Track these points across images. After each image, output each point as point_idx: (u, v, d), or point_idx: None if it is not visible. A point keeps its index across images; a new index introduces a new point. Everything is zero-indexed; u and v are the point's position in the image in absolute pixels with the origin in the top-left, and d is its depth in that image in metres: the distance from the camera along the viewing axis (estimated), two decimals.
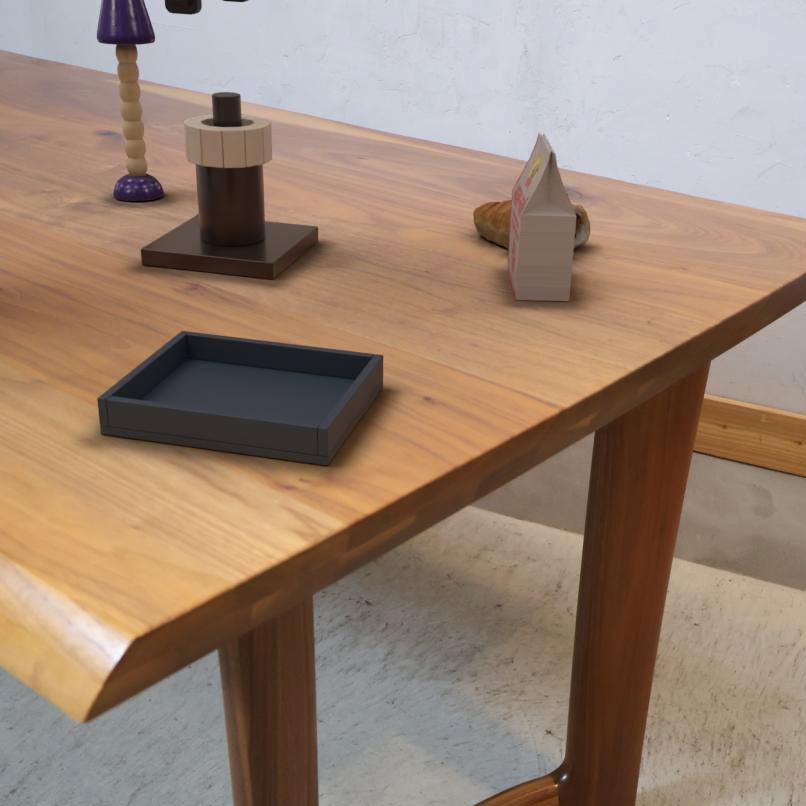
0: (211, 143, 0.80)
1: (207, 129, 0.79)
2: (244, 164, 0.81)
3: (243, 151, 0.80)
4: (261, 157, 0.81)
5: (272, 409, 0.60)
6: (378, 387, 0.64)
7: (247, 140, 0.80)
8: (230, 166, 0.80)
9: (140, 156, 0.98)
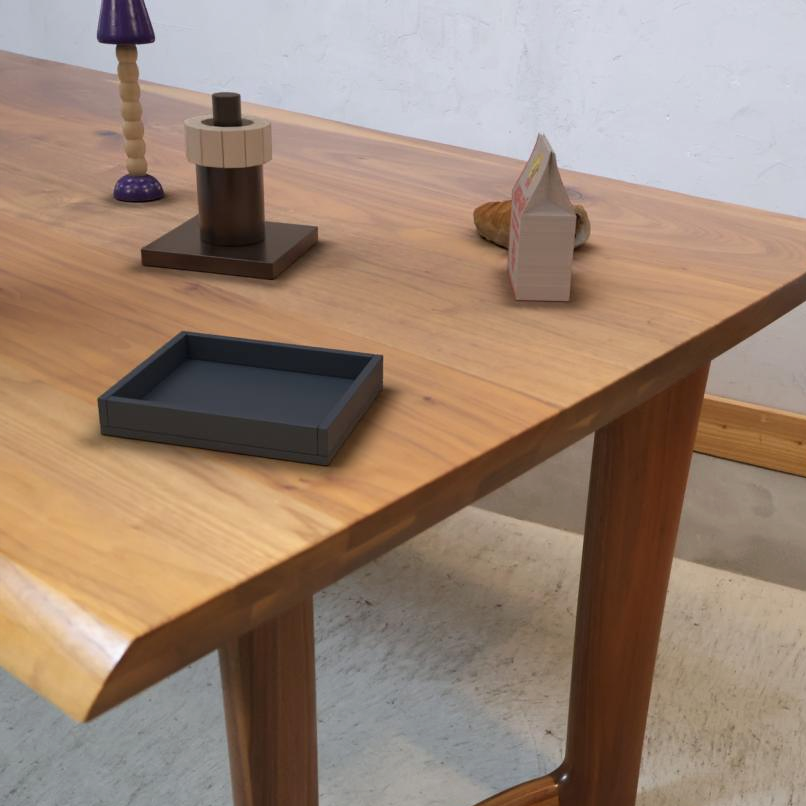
0: (211, 143, 0.80)
1: (207, 129, 0.79)
2: (244, 164, 0.81)
3: (243, 151, 0.80)
4: (261, 157, 0.81)
5: (272, 409, 0.60)
6: (378, 387, 0.64)
7: (247, 140, 0.80)
8: (230, 166, 0.80)
9: (140, 156, 0.98)
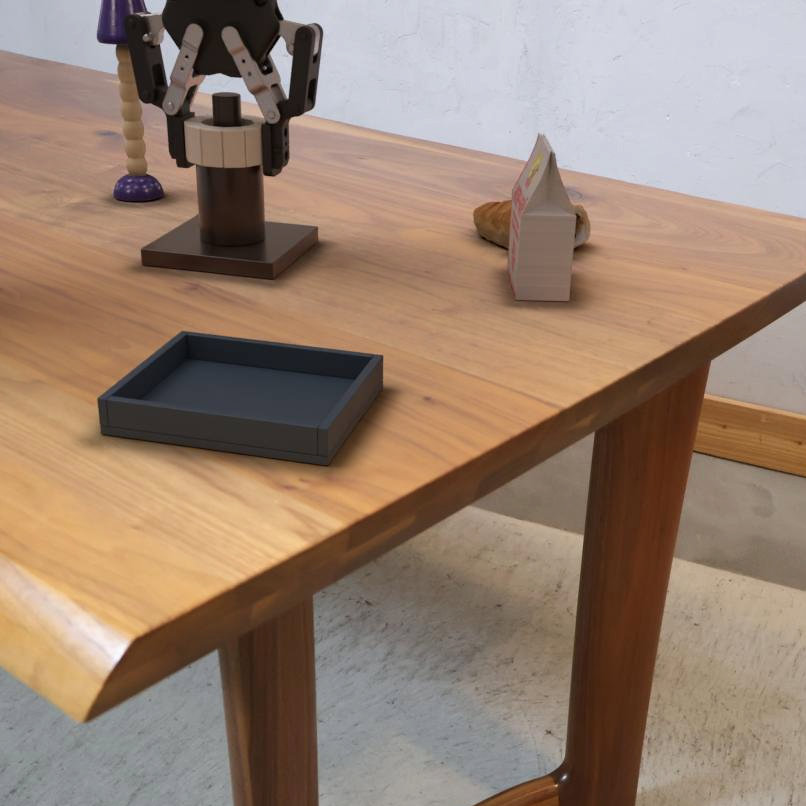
0: (211, 143, 0.80)
1: (207, 129, 0.79)
2: (244, 164, 0.81)
3: (243, 151, 0.80)
4: (261, 157, 0.81)
5: (272, 409, 0.60)
6: (378, 387, 0.64)
7: (247, 140, 0.80)
8: (230, 166, 0.80)
9: (140, 156, 0.98)
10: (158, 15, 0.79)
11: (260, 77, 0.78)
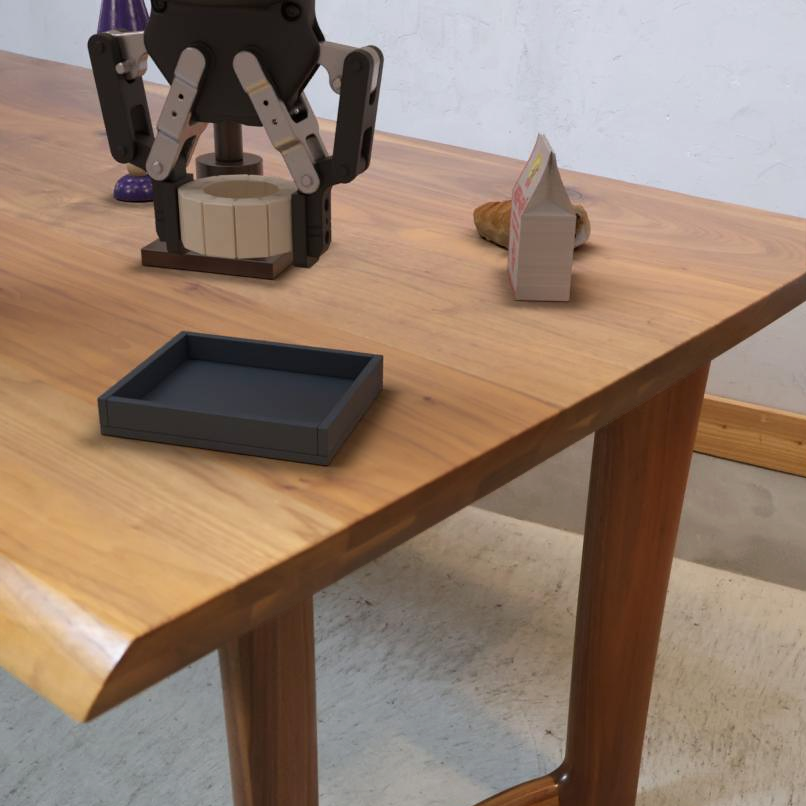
0: (218, 223, 0.54)
1: (213, 203, 0.54)
2: (267, 252, 0.55)
3: (265, 234, 0.54)
4: (291, 241, 0.56)
5: (272, 409, 0.60)
6: (378, 387, 0.64)
7: (271, 218, 0.54)
8: (246, 256, 0.55)
9: None
10: (138, 35, 0.53)
11: (291, 126, 0.53)
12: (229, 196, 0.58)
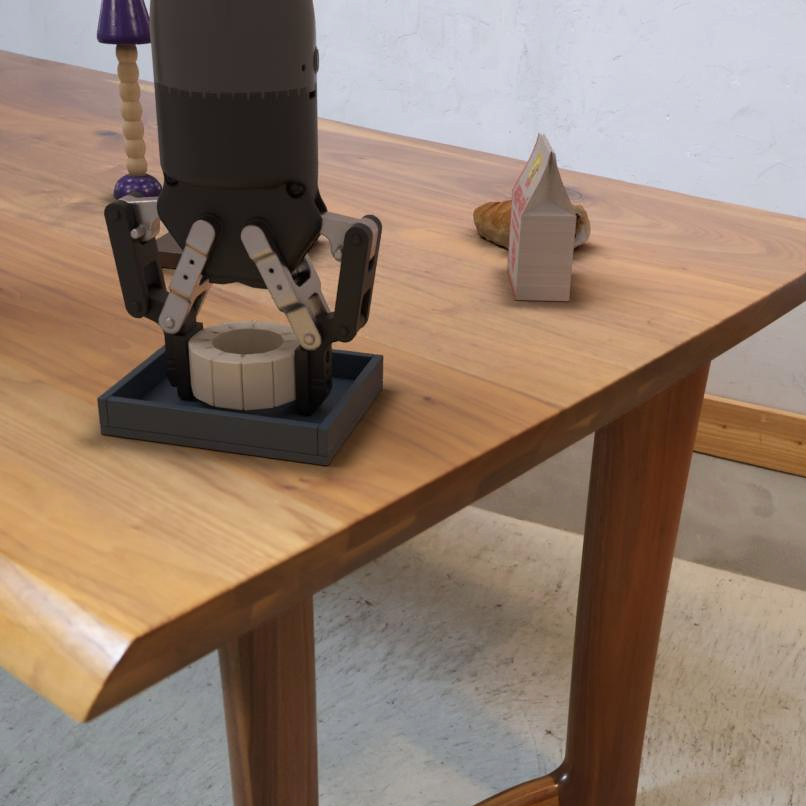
0: (226, 379, 0.57)
1: (221, 361, 0.57)
2: (272, 404, 0.58)
3: (271, 387, 0.58)
4: (295, 391, 0.59)
5: (272, 409, 0.60)
6: (378, 387, 0.64)
7: (276, 373, 0.58)
8: (253, 408, 0.58)
9: (140, 156, 0.98)
10: (152, 203, 0.57)
11: (294, 292, 0.56)
12: (236, 343, 0.61)
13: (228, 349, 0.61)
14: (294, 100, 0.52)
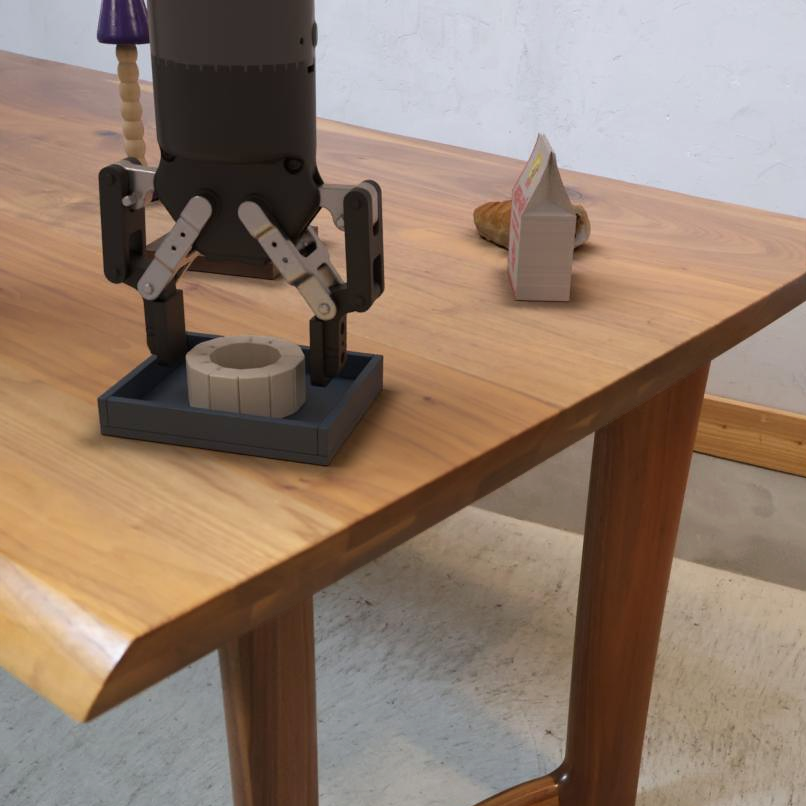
0: (223, 393, 0.58)
1: (218, 376, 0.57)
2: None
3: (267, 402, 0.58)
4: (291, 405, 0.60)
5: None
6: (378, 387, 0.64)
7: (273, 388, 0.58)
8: None
9: (140, 156, 0.98)
10: (149, 173, 0.56)
11: (301, 262, 0.55)
12: (234, 357, 0.62)
13: (226, 363, 0.62)
14: (292, 73, 0.51)
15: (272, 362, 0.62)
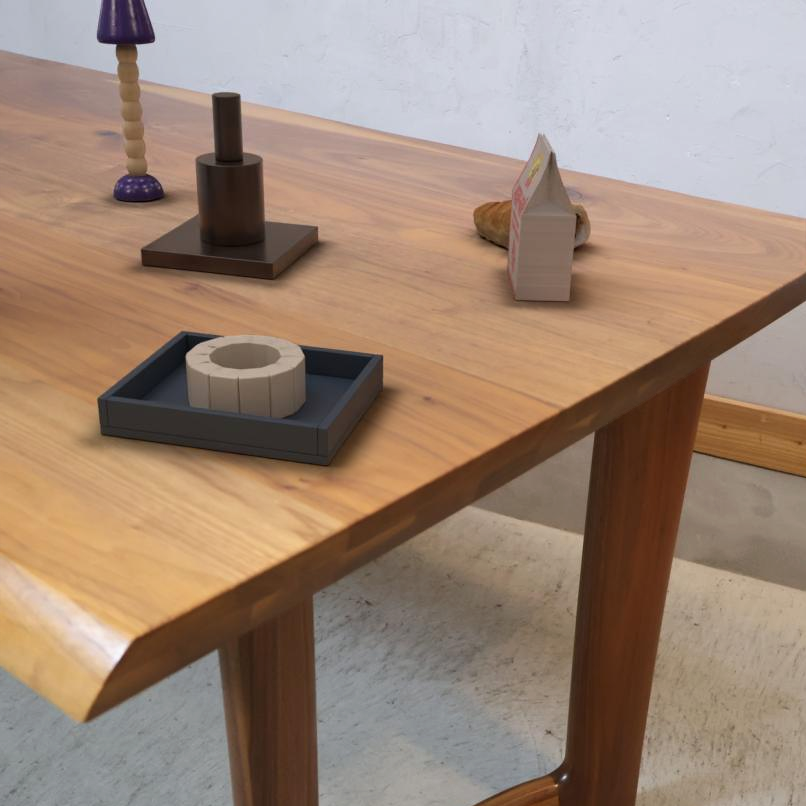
0: (223, 393, 0.58)
1: (218, 376, 0.57)
2: None
3: (267, 402, 0.58)
4: (291, 405, 0.60)
5: None
6: (378, 387, 0.64)
7: (273, 388, 0.58)
8: None
9: (140, 156, 0.98)
10: None
11: None
12: (234, 357, 0.62)
13: (226, 363, 0.62)
14: None
15: (272, 362, 0.62)
